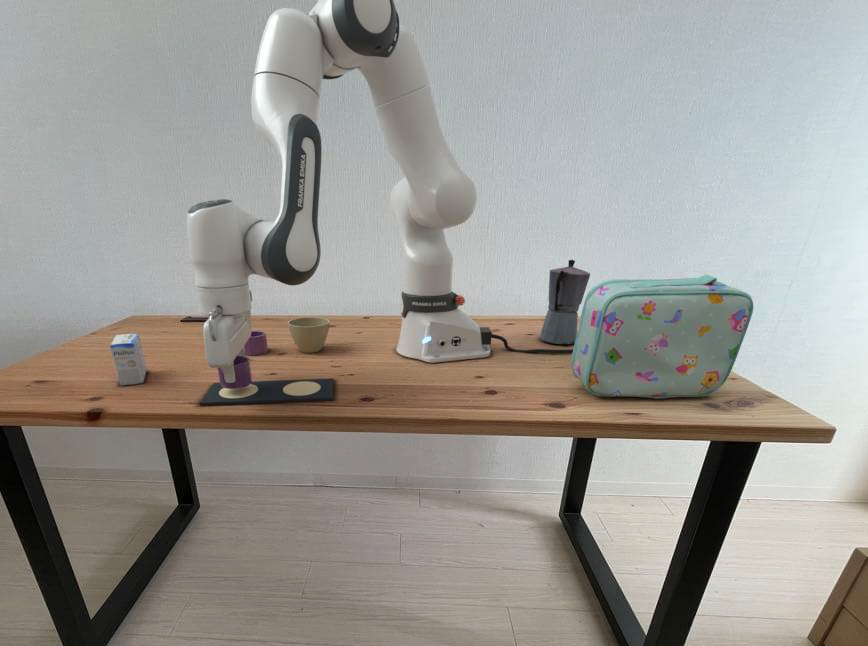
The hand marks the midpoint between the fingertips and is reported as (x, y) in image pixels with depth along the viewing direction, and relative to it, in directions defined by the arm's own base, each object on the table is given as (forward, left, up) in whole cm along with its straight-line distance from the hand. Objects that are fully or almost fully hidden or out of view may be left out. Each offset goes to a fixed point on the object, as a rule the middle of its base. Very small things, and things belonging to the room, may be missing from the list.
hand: (235, 374), depth 86 cm
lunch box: (-77, +7, -4) cm, 77 cm away
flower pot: (-12, -27, -4) cm, 30 cm away
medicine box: (+24, -11, -4) cm, 27 cm away
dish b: (0, 0, -2) cm, 2 cm away
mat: (-6, 0, -4) cm, 7 cm away
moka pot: (-75, -27, -4) cm, 80 cm away
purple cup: (+1, -27, -4) cm, 27 cm away
